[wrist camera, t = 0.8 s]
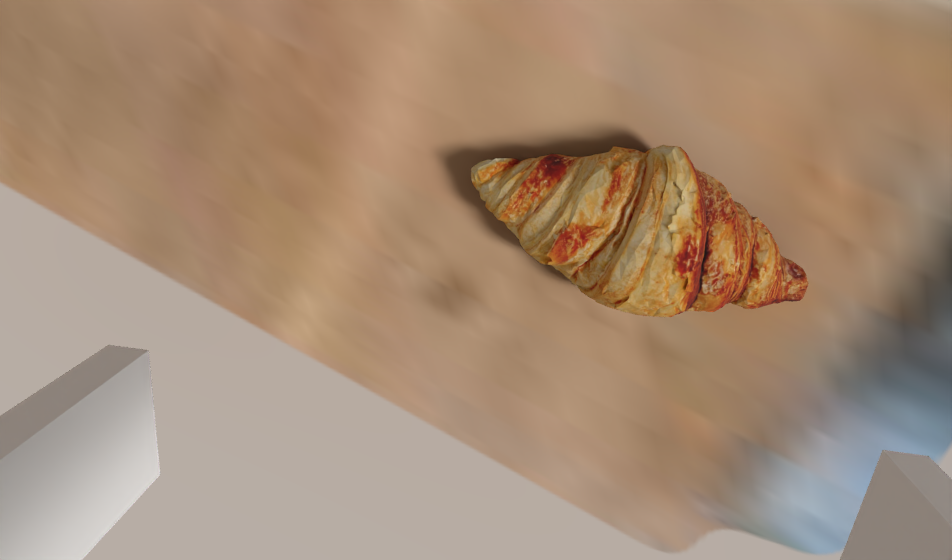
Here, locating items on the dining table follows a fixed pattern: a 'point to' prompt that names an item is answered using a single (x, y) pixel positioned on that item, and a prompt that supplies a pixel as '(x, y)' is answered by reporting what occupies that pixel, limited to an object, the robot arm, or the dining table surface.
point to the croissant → (639, 230)
